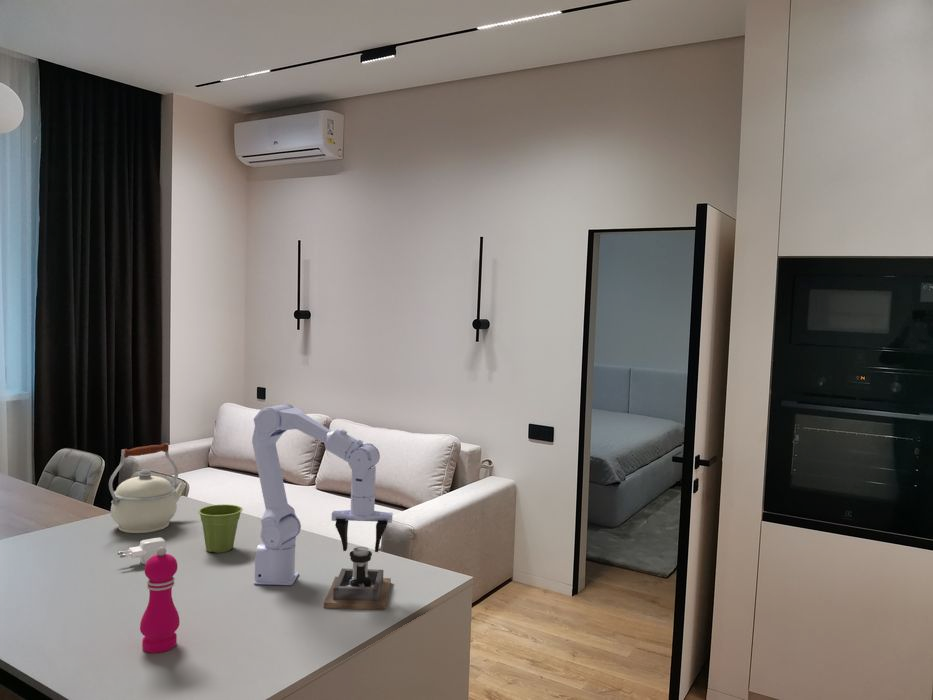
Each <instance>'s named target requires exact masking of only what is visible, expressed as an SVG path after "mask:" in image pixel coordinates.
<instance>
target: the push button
mask: <svg viewBox="0 0 933 700" xmlns="http://www.w3.org/2000/svg"><path fill="white" fill-rule="evenodd" d="M372 555H373V552H372V550H371V551H370V550H369V548H368V547H366V546H356V547H354V548H353V549H352V551H350V552H349V556H350V558H349V559H350V561H351V562H352V569H353V577H352V579H351V580H350V581H349V582H350V583H349V585H348V586H355V587H371V580H370V579H369V578H368V575H367V573H368V569H369V567H368V566H369V565H368V564H369V562H370V561H371V560H372Z"/></svg>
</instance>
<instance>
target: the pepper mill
mask: <svg viewBox="0 0 933 700" xmlns="http://www.w3.org/2000/svg"><path fill="white" fill-rule="evenodd" d="M166 548H167V547H166ZM166 548H164V547H160V548H158V549H157V555H154V556H152V557H151V558H150V559H149V560H148V561H147V562H146V565H144V575H145V576H146V578H147V580H146V588H147V589H148V590H149V591H148V592H149V596H148V597H149V598H148V603H147V607H146V608H145V611H144V612H143V614H142V617H141V620H140V624H139V631H140V633H141V634H142V636H144V637H142V640H141V647H142V650H143V651H144V652H146V653H149V654H150V653H151V654H152V653H153V654H158V653H163V652H167V651H169V650H172V649H173V648H174V647H175V646H176V645H177V643H178V642H177V640H178V639H177V637H178V636H177V633H176V631H177V630H178V629H179V627H180V616H179V612H178V610H177V608H176V606H175V604H174V600H173V597H172V595H173V594H172V590H173V587H174V586H175V577H174V575H175V574H176V573H177V571H178V561H177V559H176V558H175V557H174V555H171V554H169V553H167V549H166Z"/></svg>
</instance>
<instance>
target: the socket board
mask: <svg viewBox="0 0 933 700" xmlns="http://www.w3.org/2000/svg"><path fill="white" fill-rule="evenodd" d="M367 575H368V578H369V579H370V580H371V587H355V586H348V585H349V583H350V582H349V581H350V580H351V579H352V577H353V568H341V570H340V571H339V574H338V576H335V577H334V579H333V581H332V584H331V586H330V588H329V591H328V593H327V594H326V597H325V599H324V602H323V608H324V609H351V610H352V609H353V610H354V609H356V610H386V605H387V603H388V602H387V601H388V597H389V592H390V587H391V584H392V583H391V581H392V579H391V577H390V578H389V577H384V569H376V568H375V569H373V568H372V569H369V568H368V573H367Z"/></svg>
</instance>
